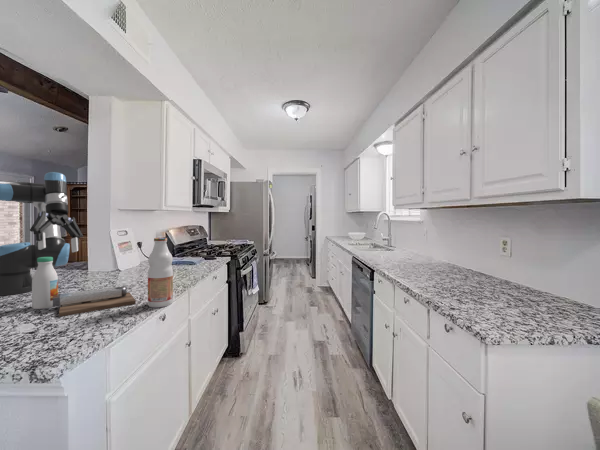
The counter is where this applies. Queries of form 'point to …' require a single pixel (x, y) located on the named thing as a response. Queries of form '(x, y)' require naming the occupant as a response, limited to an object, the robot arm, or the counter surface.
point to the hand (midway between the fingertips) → (59, 250)
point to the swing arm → (88, 295)
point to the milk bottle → (44, 284)
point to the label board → (96, 305)
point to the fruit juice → (160, 275)
